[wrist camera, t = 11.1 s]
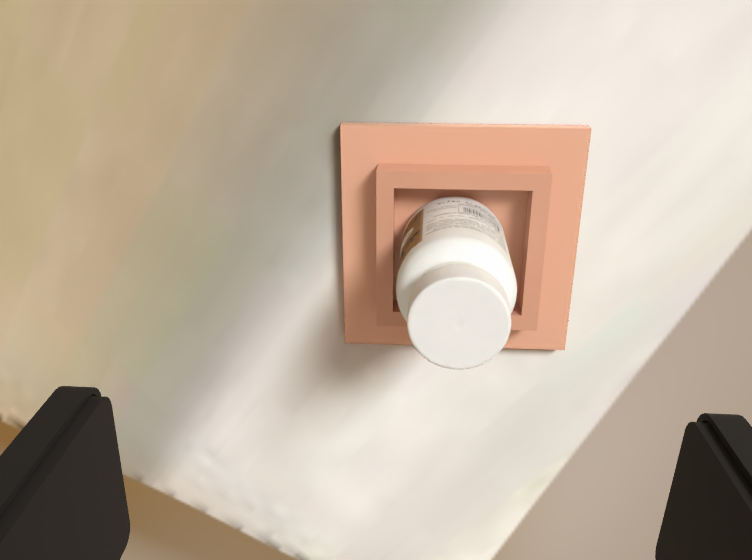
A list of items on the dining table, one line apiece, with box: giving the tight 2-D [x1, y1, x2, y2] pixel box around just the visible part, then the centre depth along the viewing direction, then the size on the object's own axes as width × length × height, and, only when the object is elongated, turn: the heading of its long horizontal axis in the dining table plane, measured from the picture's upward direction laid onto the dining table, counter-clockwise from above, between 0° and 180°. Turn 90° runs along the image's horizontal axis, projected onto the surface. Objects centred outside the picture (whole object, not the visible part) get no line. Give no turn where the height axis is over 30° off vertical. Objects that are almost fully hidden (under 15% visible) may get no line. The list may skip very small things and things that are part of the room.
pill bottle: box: [396, 196, 517, 369], centre depth 26 cm, size 4×4×8 cm
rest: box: [340, 122, 591, 350], centre depth 30 cm, size 10×10×2 cm
